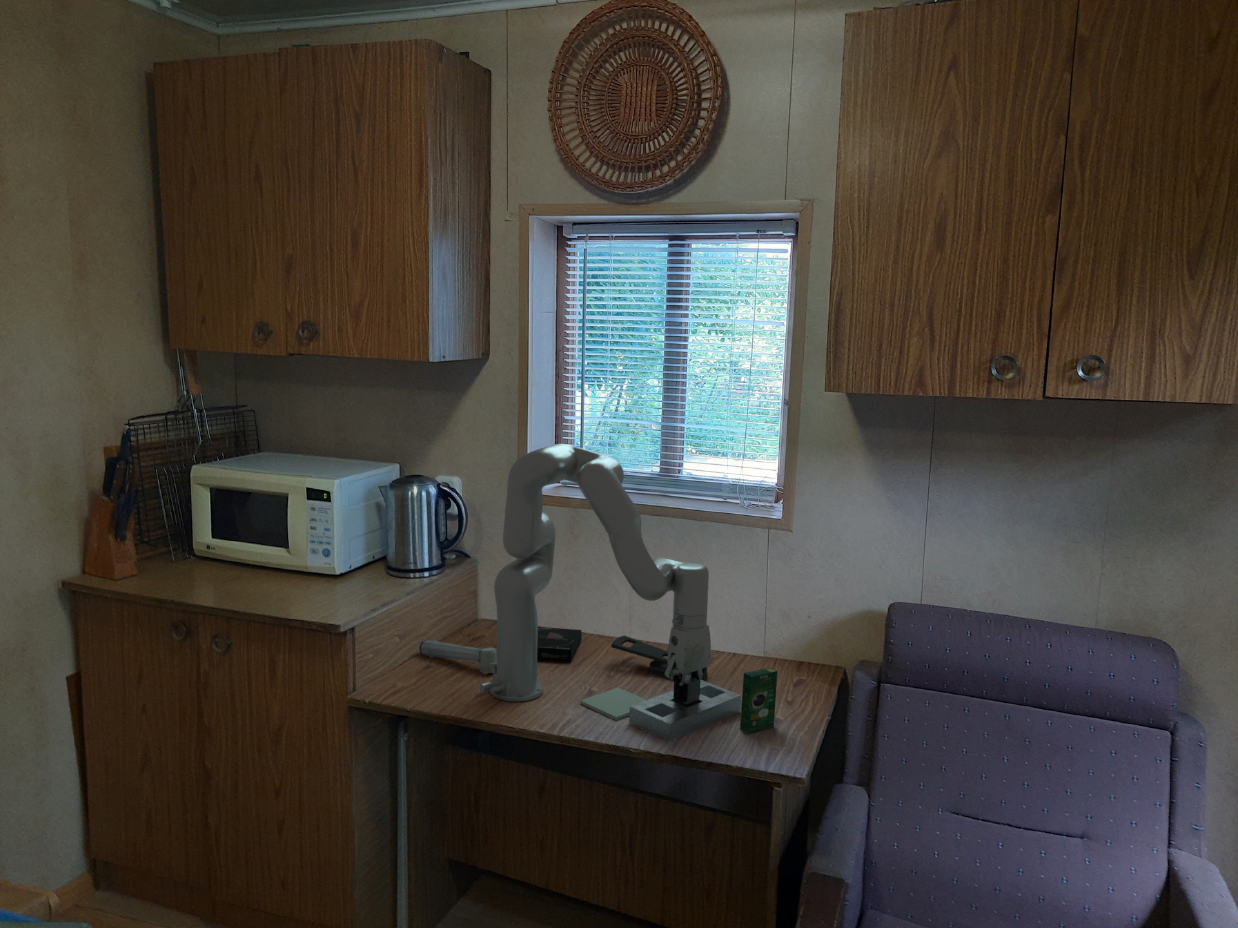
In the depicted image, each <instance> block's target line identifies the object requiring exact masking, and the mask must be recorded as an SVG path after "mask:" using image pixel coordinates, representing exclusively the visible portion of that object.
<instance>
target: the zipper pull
mask: <svg viewBox="0 0 1238 928" xmlns="http://www.w3.org/2000/svg"><path fill="white" fill-rule="evenodd" d="M624 643H629V644H632V645H631V646H624ZM611 648H613V649H616V650H619V651H623V652H627V653H630V654H634V655H636V656H640V657H642V658H647V659H649V660H652V661H651V662H649V667H648V668H649V674H650V675H651V676H654V677H659V678H663V679H667V680H670V681H672V680H671V679H670V678H669V677H667V676H666V675H665V671H666V669H667V667H668V662H667V658H665V657H668V650H664V649H662V648H660V647H658V646H657V647H656V646H654V645H651V644H649V643H646V642H643V641H640V640H637V639H635V638H632V637H629V636H627V635H622V636H619V637H617V638H615V639H614V640H613V641H612V642H611ZM686 675H689V676H690V673H688V674H686ZM678 676H679V677H680V676H681V674H680V673H678ZM707 678H708V666H707V667H705V670H704V672H703V677H702V679H701V680H703V681H705V682H706V680H707Z"/></svg>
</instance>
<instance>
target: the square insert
mask: <svg viewBox="0 0 1238 928" xmlns="http://www.w3.org/2000/svg"><path fill="white" fill-rule="evenodd" d="M684 685H686V702H684V703H682V702H680V701H677V700H675V699H674V702H675V703H678V704H680V705H682V706H685V707H690V706H693V705H695V704H698V703H699V691H700V680H699V679H697V678H694V677H691V676H689V675H686V678H685V684H684Z"/></svg>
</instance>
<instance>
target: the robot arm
mask: <svg viewBox="0 0 1238 928" xmlns="http://www.w3.org/2000/svg"><path fill="white" fill-rule="evenodd" d="M624 476H625V472H624V469H623V467H622V465H621V463H620V462H619V460H617V459H615V458H614V457H612V456H610V455H606V454H603V453H599V452H596V451H592V450H589V449H586V448H583V447H578V446H575V445H571V444H567V443H558V444H557V443H555V444H553V445H550V446H549V445H548V446H545V447H541V448H538V449H535V450H532V451H530V452H528V453H525V454H524V455H522V456H520V457H519V458H517V460H516V461H515V462H514V463H512V465H511V467H510V470H509V473H508V476H507V484H506V485H507V486H506V501H505V509H504V521H503V532H502V543H503V549H505V551H506V553H507V554H508V555H509V556H510V557H514V558H515V559H514V560H513V561H511V562H510V563H508V564H506V565H505V566H504V567H502V568H501V569H500V570H499V572H498V573H497V575H496V577H495V579H494V586H493V589H494V597H495V603H496V622H497V623H496V630H497V631H496V632H497V633H496V651H497V673H495V674H492V679H490V680H489V681H488V682H484V683H481V684H479V691H480V692H481V693H484V692H488V691H489V693H490V694H491V696H492V697H493V698H495V699H497V700H501V701H506V702H527V701H532V700H534V699H537V698H539V697H540V696H541V695H542V694H543V693H544V686H543V684H542V682H541V681H538V661H537V645H538V627H539V626H538V625H539V624H538V623H539V622H538V621H539V620H538V619H539V618H538V609H537V604H536V595H538V594H539V593H540V592H541V591H543V590H544V589H546V587H548V585H549V583H550V582H551V579H552V575H553V569H554V568H553V567H554V558H555V547H556V546H555V545H556V527H555V524H554V522H553V520H552V518H551V517H550V515H548V514H546V513H545V512H543V507H544V495H543V488H544V487H545V486H548V485H553V484H556V483H560V482H562V481H564V480H565V481H568V482H572V483H576V484H577V486H578V488H579V491H580V492H581V493H582V495H583V496H584V498H585V499H586V501H587V502H588V505H589V506H590V508H591V509H592V511H594V514H595V516H596V517H597V518H598V520H599V521H600V523H601V525H602V527H603V528H604V529H605V531H606V533H607V534H608V535H607V536H608V539H609V544H610V547H611V549H612V552H613V555H614V558H615V561H616V563H617V565H618V567H619V569H620V572H621V573H622V574H623V576H624V578H625V579H626V581H627V582H628V584H629V586H630V587H631V588H632V589H633V591H634V593H635V594H637V595H638V596H639V597H640V598H642V599H643V600H645V601H650V602H651V601H652V602H653V601H657V600H660V599H661V598H663V597H664V596H665V595H666V594H667V593H668V592H670V591H672V592H673V604H672V605H673V607H672V608H673V609H672V620H671V623H672V625H671V629H670V633H669V639H668V646H667V651H668V656H667V658H666V659H667V662H668V667H667V669H666V671H665V675H666V676H667V677H669V678H670V679H671V680H670V679H669V680H670V681H671V682H672V683H673V690H674V696H673V698H674V699H675V700H677V701H680V702H682V703H684V702H686V685H684V684H685V678H686V674H688V673H690V676H691V677H694V678H697V679H699V680H701V679H702V677H703V672H704V670H705V667H707V668H708V666H709V665H711V660H712V645H711V644H712V643H711V642H712V641H711V631H710V625H709V623H707V621H708V620H707V619H708V598H709V580H710V579H709V578H710V575H709V572H710V571H709V569H708V567H707V566H706V565H704V564H701V563H699V562H698V563H697V562H681V561H677V560H673V559H670V558H665V557H655V558H652V557H651V555H650V553H649V551H648V549H647V547H646V544H645V542H644V539H643V537H642V536H643V535H642V517H641V513H640V511H639V510H638V508H637V507H636V505H635V504H634V502H633V500H632V498H631V497H630V495H629V494H628V493H627V491H626V489H625V487H624V486H623V485H622V483H623V481H624V478H625V477H624ZM678 673H680V674H681V676H680V677H679V676H678ZM699 696H700V691H699Z"/></svg>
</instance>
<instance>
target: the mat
mask: <svg viewBox="0 0 1238 928" xmlns="http://www.w3.org/2000/svg"><path fill="white" fill-rule="evenodd" d="M645 700H647V699H646V698H644V697H641V696H639V695H636V694H634V693H631V692H629V691H628V690H624V689H622V688H620V687H616V688H613V689H610V690H607V691H604V692H602V693H599V694H596V695H593V696H590V697H587V698H584V699H581V700H580V704H581V705H583V706H585V707H586V708H589V709H591V710H593V711H595V712H597V713H599V714H602V715H603V716H606V717H609V718H610V719H613V720H614V719H615V720H614V721H618V719H619V720H621V719H624V718H627V717H629V711H630V706H632V705H635V704H637V703H640V702H643V701H645Z"/></svg>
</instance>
